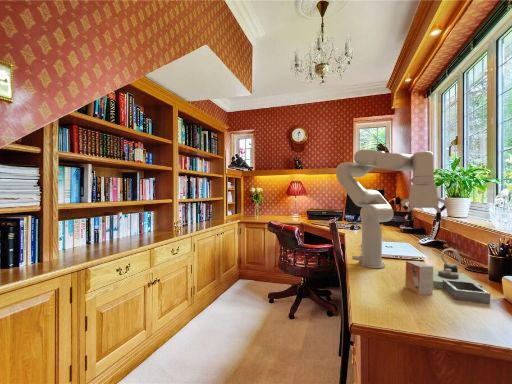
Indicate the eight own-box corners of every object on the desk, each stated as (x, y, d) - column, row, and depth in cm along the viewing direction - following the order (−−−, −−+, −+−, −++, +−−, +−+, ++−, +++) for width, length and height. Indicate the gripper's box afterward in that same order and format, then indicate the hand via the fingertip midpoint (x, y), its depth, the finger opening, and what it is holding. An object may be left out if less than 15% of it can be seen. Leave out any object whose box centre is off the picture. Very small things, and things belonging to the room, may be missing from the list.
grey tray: (455, 300, 93) (455, 290, 93) (442, 288, 104) (442, 279, 104) (490, 303, 90) (490, 293, 90) (472, 291, 102) (472, 282, 102)
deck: (433, 287, 105) (434, 273, 105) (421, 275, 121) (421, 263, 121) (482, 292, 101) (482, 277, 101) (462, 278, 116) (463, 266, 116)
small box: (404, 287, 105) (405, 260, 105) (418, 286, 106) (418, 260, 106) (419, 294, 97) (419, 266, 97) (433, 294, 98) (433, 266, 98)
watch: (462, 275, 122) (463, 251, 121) (441, 272, 125) (442, 249, 125) (459, 271, 127) (460, 248, 127) (439, 269, 130) (439, 247, 130)
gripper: (398, 181, 115) (399, 221, 114) (447, 179, 103) (448, 223, 103) (402, 182, 120) (403, 220, 120) (449, 180, 109) (450, 222, 108)
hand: (424, 221), depth 111 cm, fingers open, 9 cm apart
